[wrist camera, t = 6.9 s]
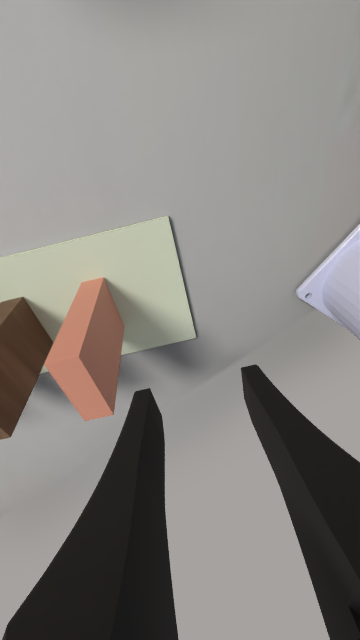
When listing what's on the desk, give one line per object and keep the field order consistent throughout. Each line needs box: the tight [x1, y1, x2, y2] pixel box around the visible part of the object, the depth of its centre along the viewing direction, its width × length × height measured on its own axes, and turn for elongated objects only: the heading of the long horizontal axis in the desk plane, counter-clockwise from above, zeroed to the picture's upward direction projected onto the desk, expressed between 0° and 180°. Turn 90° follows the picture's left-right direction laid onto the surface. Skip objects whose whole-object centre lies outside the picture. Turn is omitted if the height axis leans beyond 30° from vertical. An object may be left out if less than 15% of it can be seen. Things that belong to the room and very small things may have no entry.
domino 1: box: [0, 297, 54, 439], centre depth 16 cm, size 2×4×8 cm, turn 12°
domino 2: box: [44, 277, 125, 421], centre depth 16 cm, size 2×4×8 cm, turn 12°
